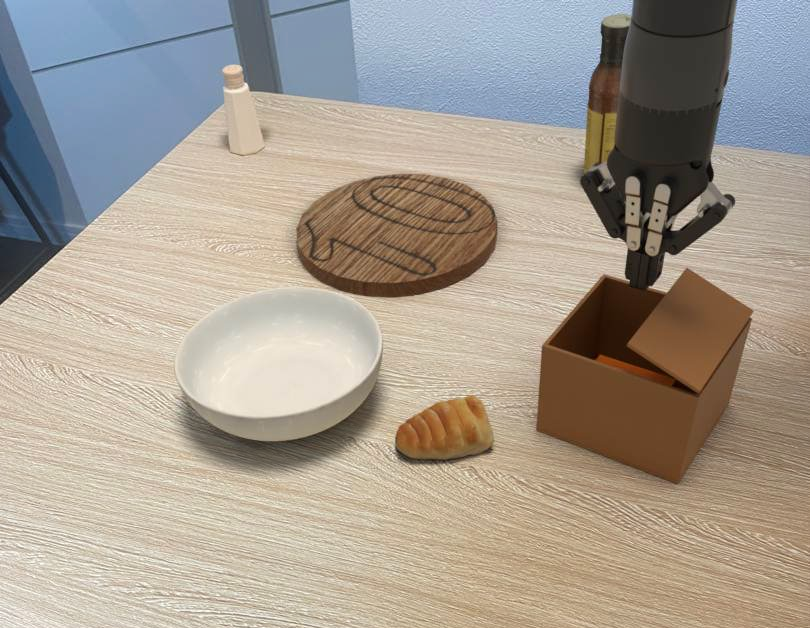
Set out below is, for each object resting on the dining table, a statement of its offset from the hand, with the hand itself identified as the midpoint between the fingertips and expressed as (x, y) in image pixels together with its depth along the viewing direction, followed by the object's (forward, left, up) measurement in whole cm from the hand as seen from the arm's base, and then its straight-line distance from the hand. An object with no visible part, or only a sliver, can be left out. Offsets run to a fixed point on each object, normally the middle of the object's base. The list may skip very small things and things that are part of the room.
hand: (641, 284), depth 81 cm
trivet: (+38, -16, -15) cm, 43 cm away
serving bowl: (+31, +15, -15) cm, 37 cm away
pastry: (+13, +12, -15) cm, 23 cm away
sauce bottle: (+21, -40, -15) cm, 47 cm away
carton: (-1, 0, -15) cm, 15 cm away
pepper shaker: (+71, -26, -15) cm, 77 cm away
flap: (-5, 0, -3) cm, 6 cm away
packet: (0, +1, -14) cm, 14 cm away
